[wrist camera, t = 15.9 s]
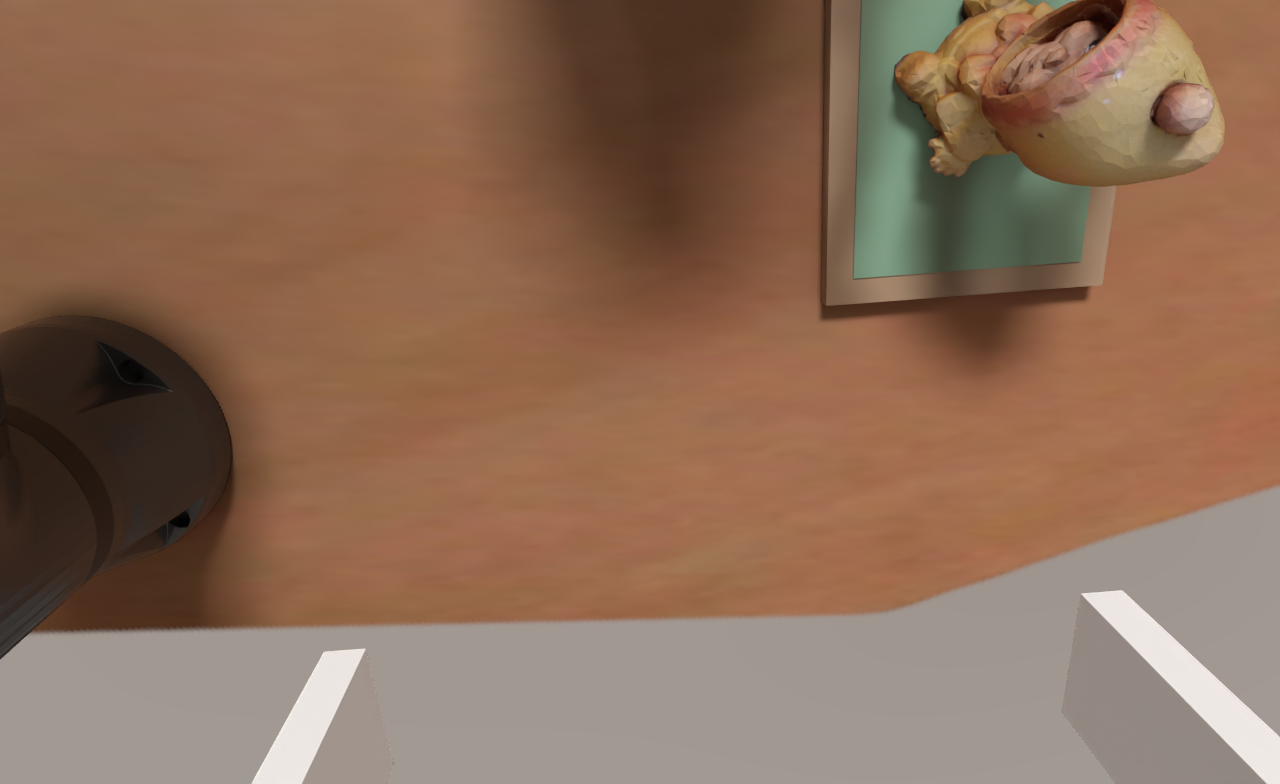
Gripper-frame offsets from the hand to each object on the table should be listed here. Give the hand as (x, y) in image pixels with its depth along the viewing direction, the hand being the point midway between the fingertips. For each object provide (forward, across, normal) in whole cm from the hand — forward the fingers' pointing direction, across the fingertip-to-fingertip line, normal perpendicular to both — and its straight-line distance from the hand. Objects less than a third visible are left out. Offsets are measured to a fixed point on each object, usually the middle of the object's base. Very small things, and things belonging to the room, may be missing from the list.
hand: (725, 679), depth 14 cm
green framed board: (+32, +18, +10) cm, 38 cm away
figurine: (+31, +18, +10) cm, 37 cm away
